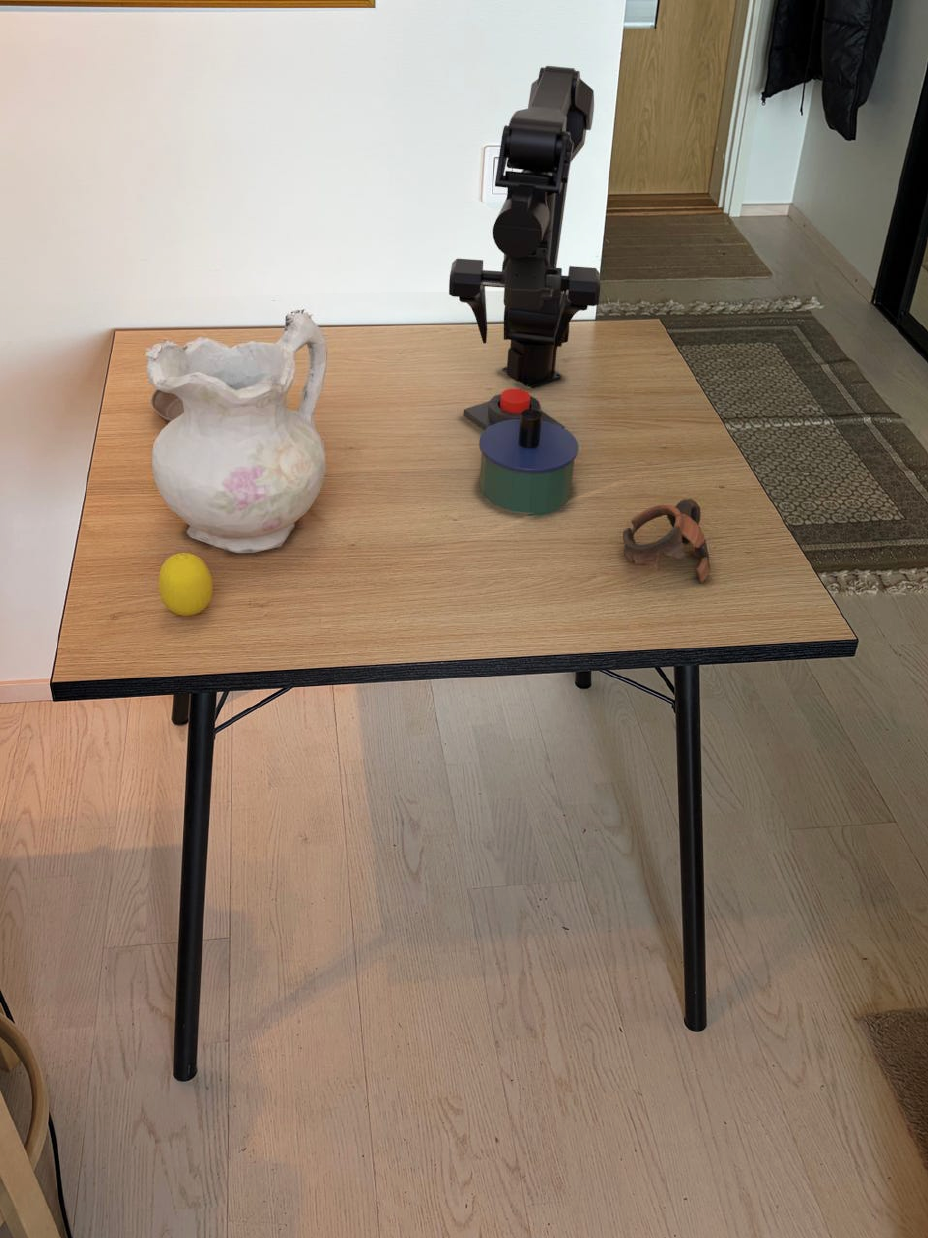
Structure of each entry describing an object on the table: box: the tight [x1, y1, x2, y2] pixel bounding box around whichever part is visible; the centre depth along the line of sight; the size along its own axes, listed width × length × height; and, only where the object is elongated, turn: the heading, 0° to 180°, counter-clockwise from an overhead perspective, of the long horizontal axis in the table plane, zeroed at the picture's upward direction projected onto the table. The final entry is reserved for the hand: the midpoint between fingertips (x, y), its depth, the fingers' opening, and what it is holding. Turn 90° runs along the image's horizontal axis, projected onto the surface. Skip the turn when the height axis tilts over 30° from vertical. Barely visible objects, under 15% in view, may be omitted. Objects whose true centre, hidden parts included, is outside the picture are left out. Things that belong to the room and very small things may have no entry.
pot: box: [479, 453, 576, 517], centre depth 145 cm, size 11×11×6 cm
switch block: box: [462, 393, 566, 431], centre depth 159 cm, size 9×11×4 cm
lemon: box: [158, 552, 214, 617], centre depth 123 cm, size 6×6×8 cm
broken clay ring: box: [622, 498, 711, 583], centre depth 136 cm, size 12×10×8 cm
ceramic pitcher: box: [143, 309, 328, 554], centre depth 132 cm, size 22×20×25 cm
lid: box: [478, 409, 579, 473], centre depth 142 cm, size 12×12×5 cm
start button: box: [500, 388, 531, 413], centre depth 157 cm, size 4×4×2 cm
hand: (520, 344), depth 152 cm, fingers open, 9 cm apart
